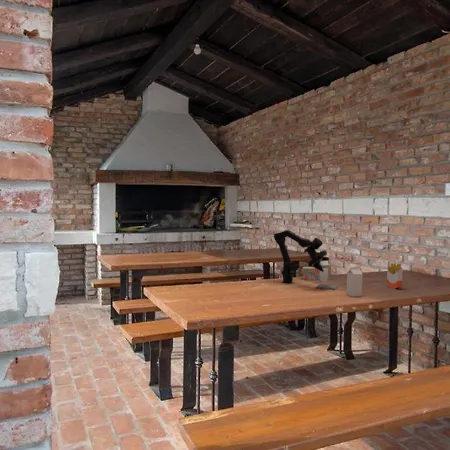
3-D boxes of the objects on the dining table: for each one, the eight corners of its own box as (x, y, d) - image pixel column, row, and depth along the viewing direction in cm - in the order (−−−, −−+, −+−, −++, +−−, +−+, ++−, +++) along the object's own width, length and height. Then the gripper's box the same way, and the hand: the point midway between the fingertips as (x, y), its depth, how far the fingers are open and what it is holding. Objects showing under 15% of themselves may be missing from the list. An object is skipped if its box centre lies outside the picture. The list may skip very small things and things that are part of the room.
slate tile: (316, 288, 303) (316, 286, 303) (319, 285, 313) (319, 283, 313) (335, 289, 298) (335, 288, 298) (337, 287, 308) (337, 285, 308)
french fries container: (396, 289, 301) (397, 264, 300) (386, 286, 311) (387, 262, 310) (401, 289, 302) (402, 264, 301) (391, 286, 313) (392, 262, 312)
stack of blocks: (303, 279, 335) (304, 264, 334) (302, 278, 341) (302, 263, 341) (330, 280, 335) (331, 264, 334) (328, 278, 341) (329, 263, 340)
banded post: (319, 281, 297) (319, 261, 296) (319, 279, 302) (320, 260, 301) (327, 281, 295) (328, 261, 294) (327, 280, 301) (328, 260, 300)
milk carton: (361, 296, 279) (362, 267, 278) (352, 296, 277) (353, 268, 276) (355, 293, 286) (356, 266, 285) (346, 294, 284) (347, 266, 283)
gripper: (312, 247, 294) (325, 265, 286) (327, 245, 306) (340, 262, 299) (302, 257, 300) (315, 275, 293) (318, 255, 313) (330, 272, 305)
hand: (325, 271), depth 297 cm, fingers closed on banded post, 6 cm apart
